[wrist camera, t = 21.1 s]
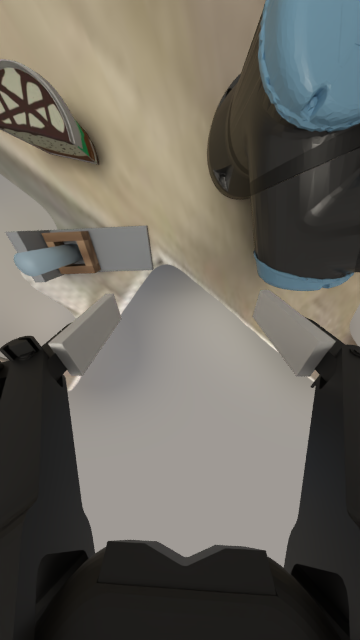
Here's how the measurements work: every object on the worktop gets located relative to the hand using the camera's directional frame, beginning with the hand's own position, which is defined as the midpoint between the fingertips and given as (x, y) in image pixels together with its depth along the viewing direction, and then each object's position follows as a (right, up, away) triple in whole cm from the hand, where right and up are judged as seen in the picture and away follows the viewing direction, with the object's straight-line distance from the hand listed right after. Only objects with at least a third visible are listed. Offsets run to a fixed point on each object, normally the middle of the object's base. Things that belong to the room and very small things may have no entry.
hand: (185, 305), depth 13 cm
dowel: (-27, +16, +24) cm, 39 cm away
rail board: (-21, +17, +24) cm, 36 cm away
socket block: (-27, +16, +23) cm, 39 cm away
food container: (-21, +33, +14) cm, 41 cm away
